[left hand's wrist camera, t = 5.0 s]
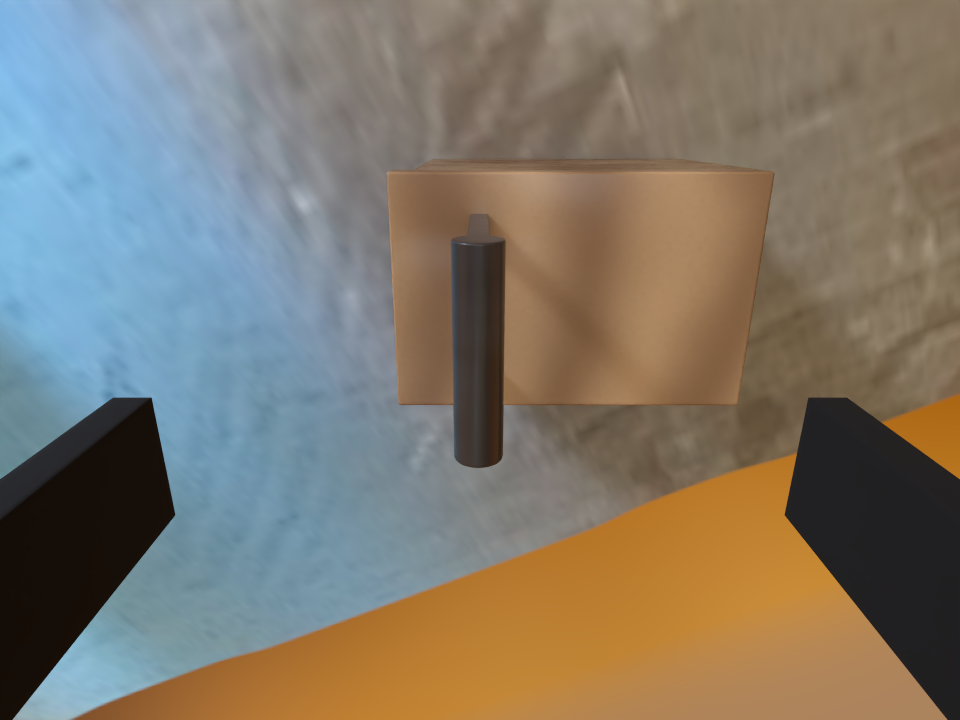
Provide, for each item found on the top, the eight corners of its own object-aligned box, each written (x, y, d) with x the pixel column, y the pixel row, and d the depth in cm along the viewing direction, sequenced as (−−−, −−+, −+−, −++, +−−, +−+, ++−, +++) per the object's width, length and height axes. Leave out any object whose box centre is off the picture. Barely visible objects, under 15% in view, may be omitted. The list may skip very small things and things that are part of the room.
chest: (435, 327, 37) (420, 393, 27) (431, 159, 33) (412, 169, 24) (664, 327, 37) (726, 393, 27) (683, 159, 33) (760, 169, 24)
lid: (401, 393, 27) (367, 507, 19) (391, 169, 24) (343, 189, 16) (727, 393, 27) (834, 508, 19) (761, 169, 24) (908, 189, 16)
